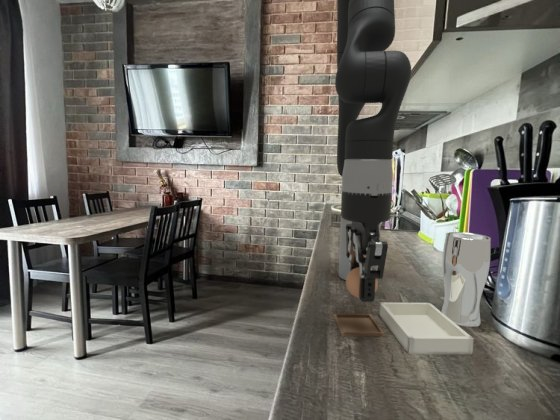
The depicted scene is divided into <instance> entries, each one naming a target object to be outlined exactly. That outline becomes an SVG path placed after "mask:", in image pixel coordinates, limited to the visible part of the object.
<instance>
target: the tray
mask: <svg viewBox="0 0 560 420" xmlns="http://www.w3.org/2000/svg"><path fill="white" fill-rule="evenodd" d="M378 309H379V310H378V315H379V317H380V319H381V320H382V321H383V323H384V324H385V325H386V327H387V328H388V329H389V331H390V332H391V333H392V334H393V336H394V337H395V339H396V340H397V341H398V342H399V343H400V345H401V346H402V348H403V349H404V350H405V351H406V353H407V354H408V355H462V356H463V355H467V356H468V355H472V356H473V351H474V340H475V338H474V337H472V336H471V335H470V334H469V333H467V332H466V331H465V329H462V328H461V327H460V325H457V324H455V323H454V322H453V321H452V320H450V319H449V318H448V317H447V316H446V315H444V314H443V313H442V312H441V310H440V309H438V308H437V307H436V306H435V305H434V304H432V303H431V302H384V301H383V302H379V308H378Z"/></svg>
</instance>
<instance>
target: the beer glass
mask: <svg viewBox="0 0 560 420" xmlns="http://www.w3.org/2000/svg"><path fill="white" fill-rule="evenodd" d="M491 239H492V238H491V237H490V236H487V235H484V234H479V233H473V232H464V231H463V232H462V231H451V232H446V233H445V239H444V244H443V251H442V263H441V267H442V279H443V285H444V286H443V287H444V297H443V298H444V299H443V304H442V307H441V310H440V311H441V312H442V313H443V314H444V315H446V316H447V317H448V318H449V319H450V320H452V321H453V322H454V323H455V324H457V325H458V326H462V327H468V328H472V327H478V328H479V326H481V323H482V321H481V314H480V303H481V298H482V295H483V292H484V289H485V285H486V282H487V279H488V276H489V270H490V266H491V265H490V264H491V241H492V240H491Z"/></svg>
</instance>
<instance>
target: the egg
mask: <svg viewBox="0 0 560 420" xmlns="http://www.w3.org/2000/svg"><path fill="white" fill-rule="evenodd" d="M378 281H379V279H376V280H375V293H376V292H377V290H378V286H379V282H378ZM345 285H346V289H347V291H348V292H349V293H350V294H351V296H353V297H355V298H357V299H359V286H360V267H357V268H355V269H353V270H351V271H350V272H349V274H348V275H347V278H346V280H345Z"/></svg>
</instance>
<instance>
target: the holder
mask: <svg viewBox="0 0 560 420" xmlns="http://www.w3.org/2000/svg"><path fill="white" fill-rule="evenodd" d="M332 315H333V316H332V317H333V320H334V322H335V324H336V326H337V328H338V331H339V334H340V336H341V337H342V338H344V337H345V338H346V337H350V338H351V337H353V338H354V337H360V338H361V337H366V338H376V337H379V338H382V337H385V335H386V333H385V332H384V331H383V329H382V327H381V326H380V324H378V322H377V321H376V319H375V317H374V316H373V315H372V314H371V313H333V314H332Z"/></svg>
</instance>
